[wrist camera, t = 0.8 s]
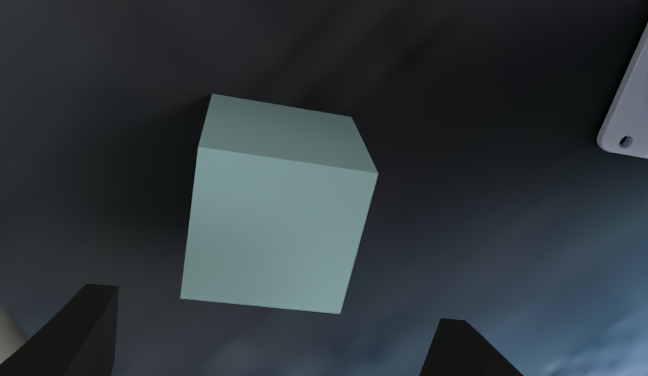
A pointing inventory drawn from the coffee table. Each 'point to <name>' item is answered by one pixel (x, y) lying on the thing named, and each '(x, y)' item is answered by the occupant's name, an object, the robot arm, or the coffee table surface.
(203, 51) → the coffee table surface
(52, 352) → the robot arm
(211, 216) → the teal cube
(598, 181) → the coffee table surface
